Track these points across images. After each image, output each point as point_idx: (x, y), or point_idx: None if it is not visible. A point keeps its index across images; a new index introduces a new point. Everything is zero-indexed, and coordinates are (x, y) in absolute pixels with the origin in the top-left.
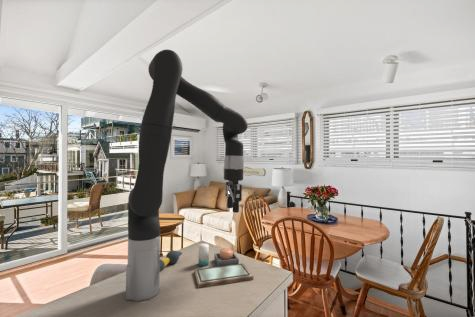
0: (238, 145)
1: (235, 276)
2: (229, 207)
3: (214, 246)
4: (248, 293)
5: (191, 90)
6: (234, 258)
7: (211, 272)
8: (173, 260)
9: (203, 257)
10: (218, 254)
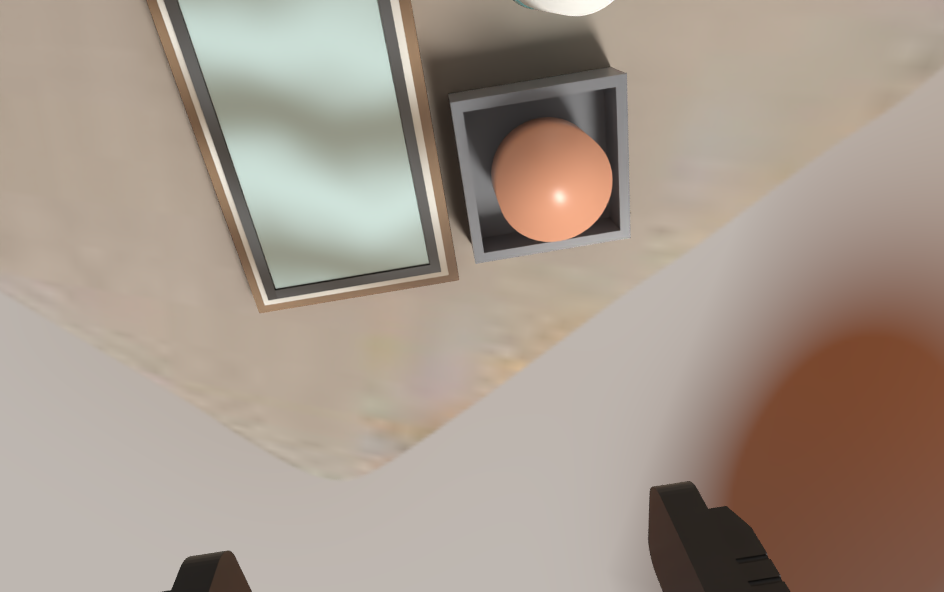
0: None
1: (237, 204)
2: (656, 521)
3: (910, 86)
4: (91, 250)
5: None
6: None
7: (307, 25)
8: None
9: None
10: (615, 110)
